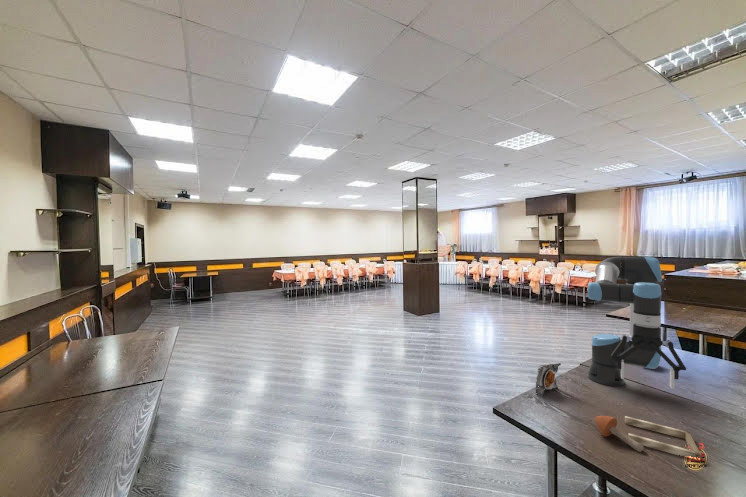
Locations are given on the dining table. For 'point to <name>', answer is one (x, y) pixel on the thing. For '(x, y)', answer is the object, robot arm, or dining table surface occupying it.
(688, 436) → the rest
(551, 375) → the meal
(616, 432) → the mushroom
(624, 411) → the dining table surface
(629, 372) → the dining table surface
